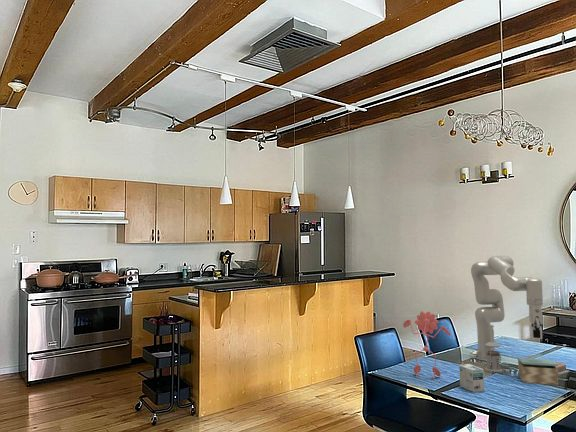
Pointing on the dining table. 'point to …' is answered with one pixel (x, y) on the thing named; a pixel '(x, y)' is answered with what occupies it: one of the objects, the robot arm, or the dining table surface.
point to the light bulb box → (472, 377)
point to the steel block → (531, 328)
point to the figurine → (426, 324)
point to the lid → (537, 362)
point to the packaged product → (561, 368)
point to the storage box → (538, 374)
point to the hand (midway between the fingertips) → (535, 336)
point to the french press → (493, 357)
